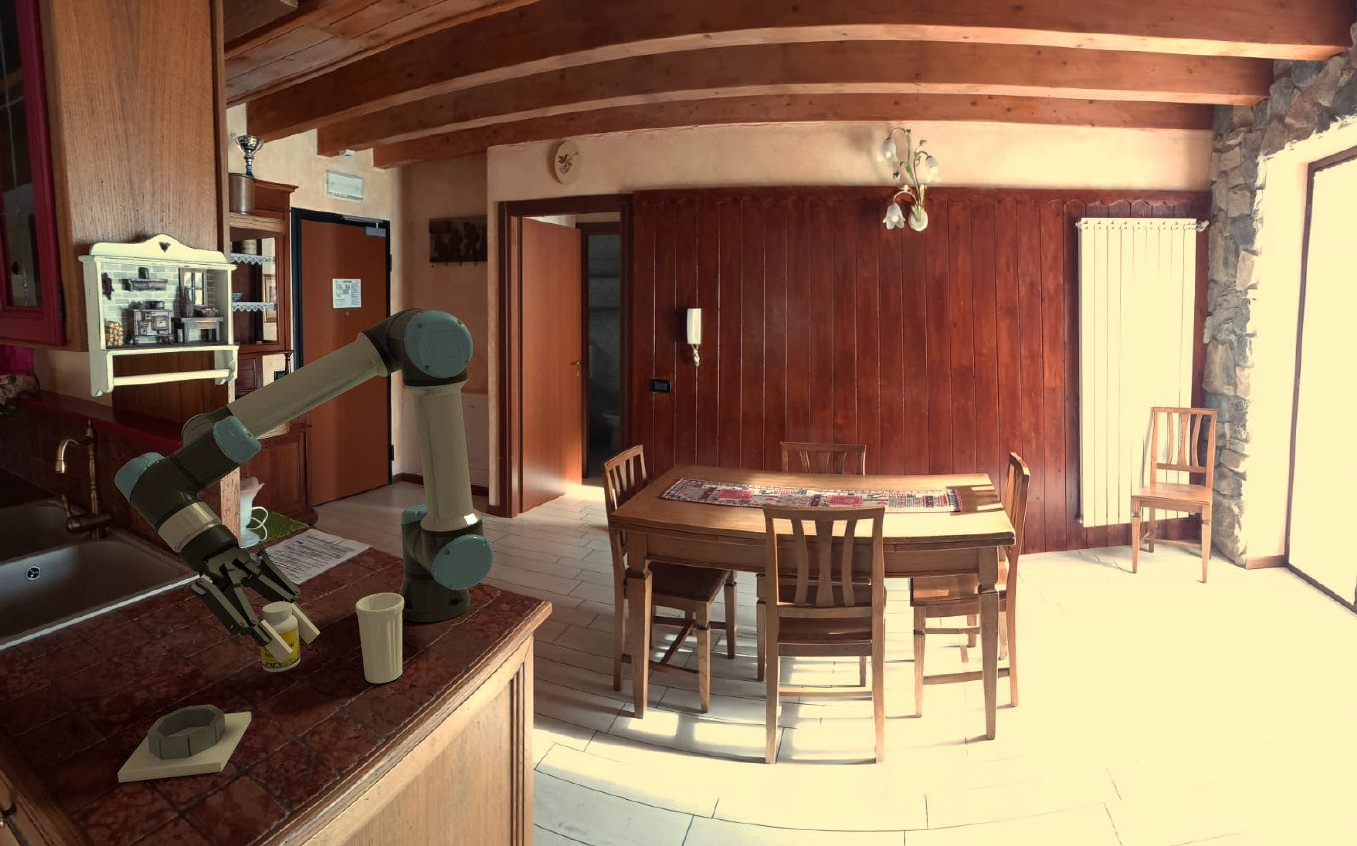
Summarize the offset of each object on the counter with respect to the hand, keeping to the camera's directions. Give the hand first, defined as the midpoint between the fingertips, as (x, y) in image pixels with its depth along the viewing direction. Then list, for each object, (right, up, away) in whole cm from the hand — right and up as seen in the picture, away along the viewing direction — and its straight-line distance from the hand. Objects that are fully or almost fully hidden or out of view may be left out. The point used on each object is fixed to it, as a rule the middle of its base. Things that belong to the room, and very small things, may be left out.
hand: (300, 647), depth 117 cm
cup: (+6, -11, +18) cm, 21 cm away
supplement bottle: (-4, -3, +1) cm, 5 cm away
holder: (-15, -14, -4) cm, 21 cm away
